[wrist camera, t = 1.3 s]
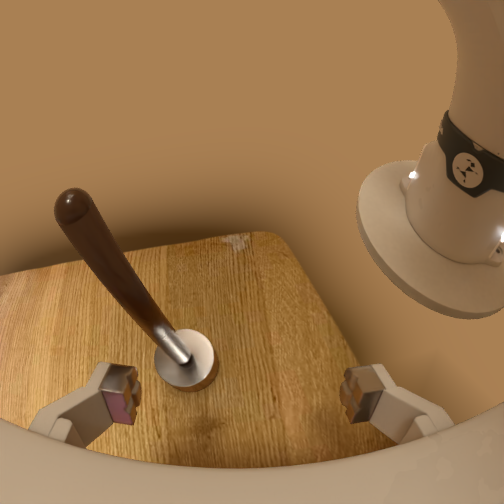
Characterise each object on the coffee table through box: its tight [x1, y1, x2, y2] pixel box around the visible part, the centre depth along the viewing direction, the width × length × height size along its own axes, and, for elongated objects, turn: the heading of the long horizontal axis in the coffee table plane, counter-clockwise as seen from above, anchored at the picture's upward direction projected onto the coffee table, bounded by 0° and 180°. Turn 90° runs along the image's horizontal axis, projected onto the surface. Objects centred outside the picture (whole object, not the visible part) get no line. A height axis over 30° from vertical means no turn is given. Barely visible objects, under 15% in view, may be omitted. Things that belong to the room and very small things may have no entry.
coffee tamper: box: [54, 188, 219, 392], centre depth 18 cm, size 6×6×21 cm
